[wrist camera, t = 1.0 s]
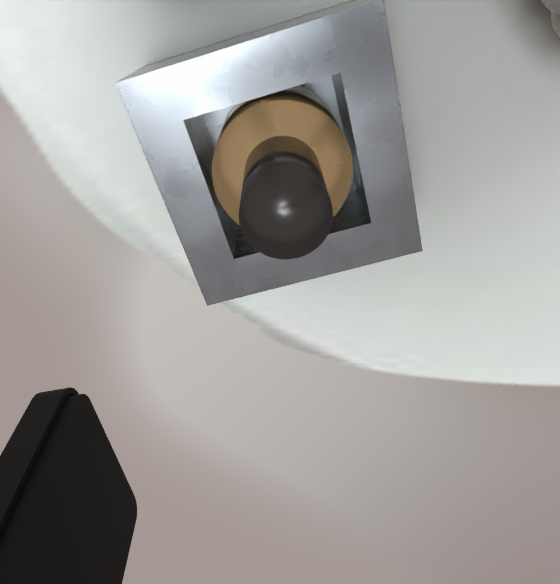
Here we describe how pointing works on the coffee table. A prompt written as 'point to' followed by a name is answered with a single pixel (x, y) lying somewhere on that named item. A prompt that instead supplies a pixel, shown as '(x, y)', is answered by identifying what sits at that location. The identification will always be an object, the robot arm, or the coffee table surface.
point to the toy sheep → (554, 14)
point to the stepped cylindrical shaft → (282, 171)
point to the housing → (263, 81)
